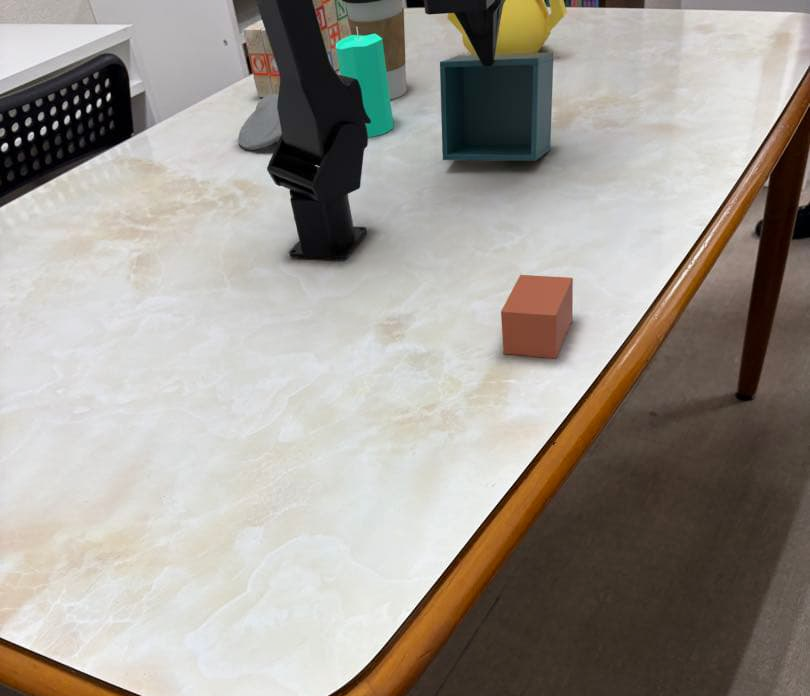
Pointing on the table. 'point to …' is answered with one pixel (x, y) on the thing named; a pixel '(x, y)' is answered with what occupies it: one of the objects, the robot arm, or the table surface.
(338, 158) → the robot arm
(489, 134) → the open box
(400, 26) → the coffee cup
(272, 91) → the stack of blocks
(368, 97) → the candle
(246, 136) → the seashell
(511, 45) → the teapot
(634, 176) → the table surface
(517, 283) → the reddish brown block
